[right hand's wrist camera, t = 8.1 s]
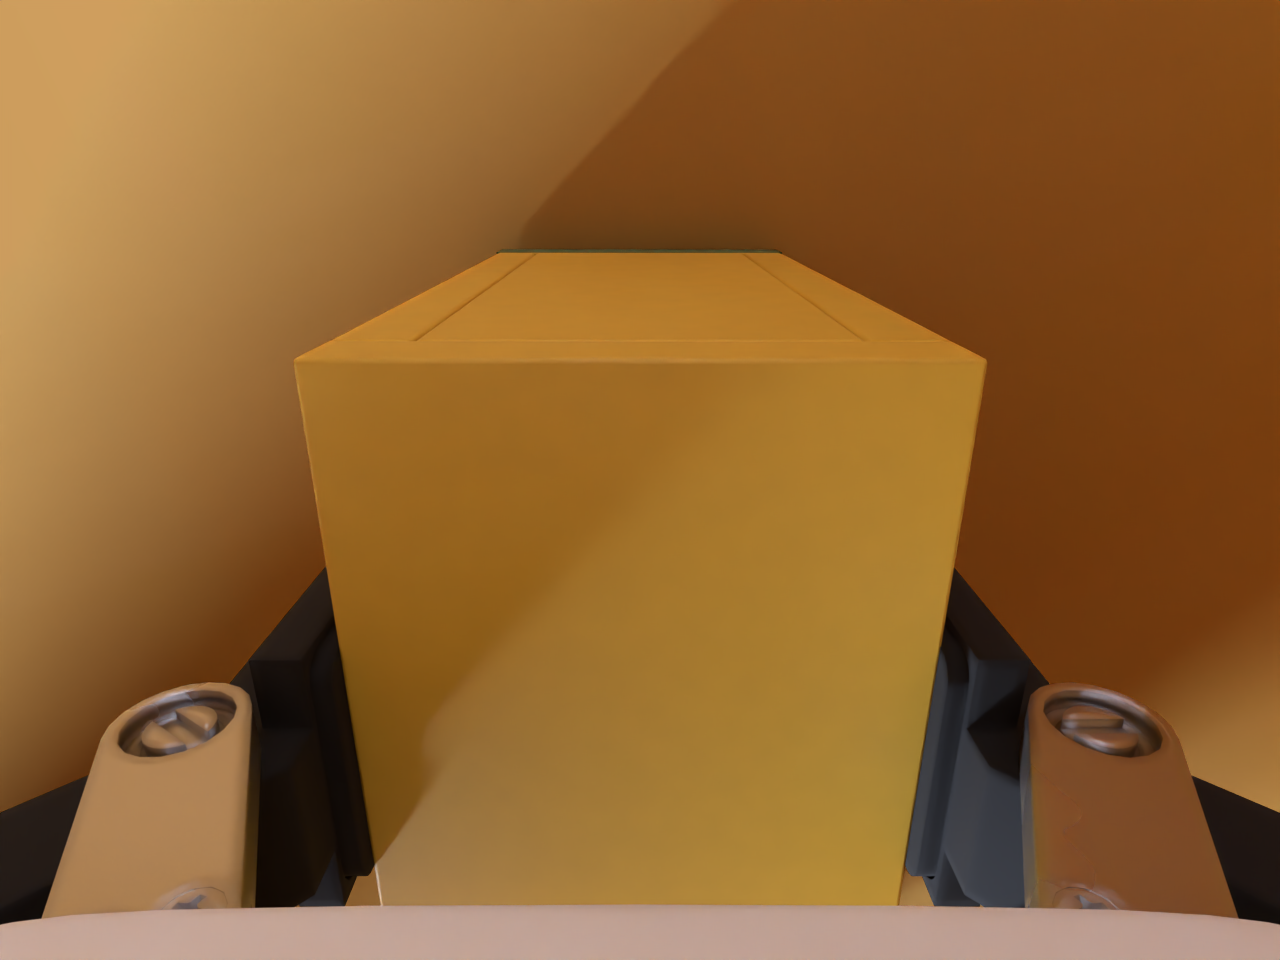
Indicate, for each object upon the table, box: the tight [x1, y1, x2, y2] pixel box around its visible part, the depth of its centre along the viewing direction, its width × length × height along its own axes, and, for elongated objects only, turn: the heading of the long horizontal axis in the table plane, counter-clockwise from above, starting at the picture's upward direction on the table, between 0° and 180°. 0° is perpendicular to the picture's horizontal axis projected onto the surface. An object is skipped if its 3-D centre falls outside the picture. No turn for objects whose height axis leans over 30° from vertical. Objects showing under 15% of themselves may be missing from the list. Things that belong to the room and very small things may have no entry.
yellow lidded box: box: [294, 249, 987, 906], centre depth 15 cm, size 16×6×12 cm, turn 0°
